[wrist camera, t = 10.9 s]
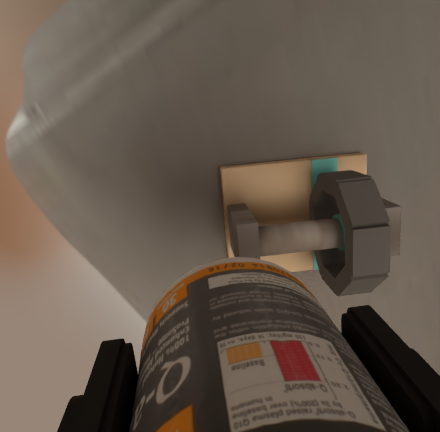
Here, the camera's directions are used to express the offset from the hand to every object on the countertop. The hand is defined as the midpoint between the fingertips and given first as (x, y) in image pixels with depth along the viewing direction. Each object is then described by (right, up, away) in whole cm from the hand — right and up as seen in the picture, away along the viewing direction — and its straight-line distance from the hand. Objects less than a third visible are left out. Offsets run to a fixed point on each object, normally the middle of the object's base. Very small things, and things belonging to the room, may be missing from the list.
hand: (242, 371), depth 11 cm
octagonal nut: (+7, +4, +16) cm, 18 cm away
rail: (+5, +4, +17) cm, 18 cm away
